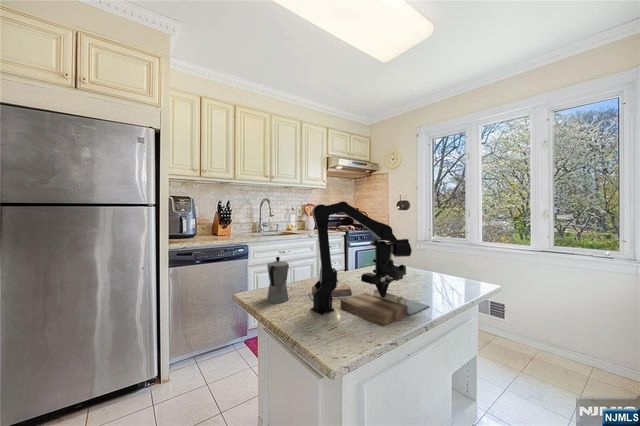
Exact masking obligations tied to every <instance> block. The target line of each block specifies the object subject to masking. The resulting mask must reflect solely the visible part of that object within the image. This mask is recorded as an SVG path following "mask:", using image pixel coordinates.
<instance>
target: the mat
mask: <svg viewBox="0 0 640 426" xmlns="http://www.w3.org/2000/svg"><path fill="white" fill-rule="evenodd" d="M406 299H407V302H406V305H404V306H407V307H408V315H407V316H410V317H411V316H413V315H415V314H417V313H421V311H424V310H426V309H428V308H430V305H428V304H425V303H421V302H418V301H415V300H412V299H408V298H406ZM398 304H399V303H398ZM401 305H403V304H401Z"/></svg>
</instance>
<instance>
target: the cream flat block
mask: <svg viewBox="0 0 640 426" xmlns="http://www.w3.org/2000/svg"><path fill="white" fill-rule="evenodd" d="M372 295H373V296H376V297H379V298H382V297H381V296H380V294H379V292H378V289H374V290H373V293H372ZM383 299H386V300H389V301H392V302H395V303H399V304H403V305H406V302H407V299H408V298H405V297H402V296H399V295H395V294H392V293H388V292H386V295H385V298H383Z"/></svg>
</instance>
